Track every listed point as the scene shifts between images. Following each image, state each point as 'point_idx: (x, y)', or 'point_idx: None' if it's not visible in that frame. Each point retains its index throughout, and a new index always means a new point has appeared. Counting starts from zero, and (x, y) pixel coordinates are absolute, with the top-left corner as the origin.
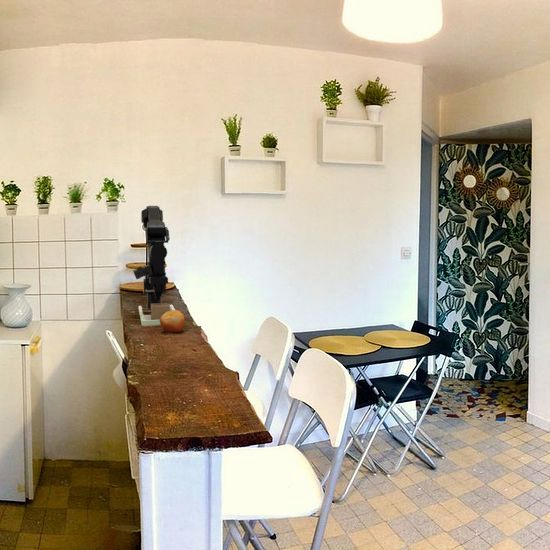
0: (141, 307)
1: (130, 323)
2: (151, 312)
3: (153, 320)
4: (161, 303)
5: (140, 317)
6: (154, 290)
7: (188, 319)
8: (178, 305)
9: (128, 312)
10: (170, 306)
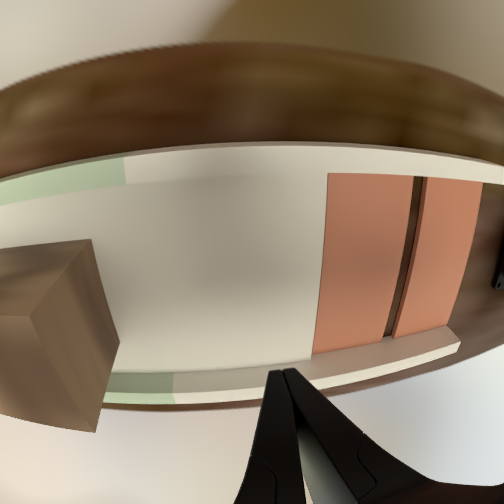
0: (471, 179)
1: (93, 79)
2: (6, 277)
3: None
4: (59, 396)
5: (160, 150)
6: (244, 481)
7: (181, 409)
8: (499, 336)
9: (486, 100)
10: (424, 351)
